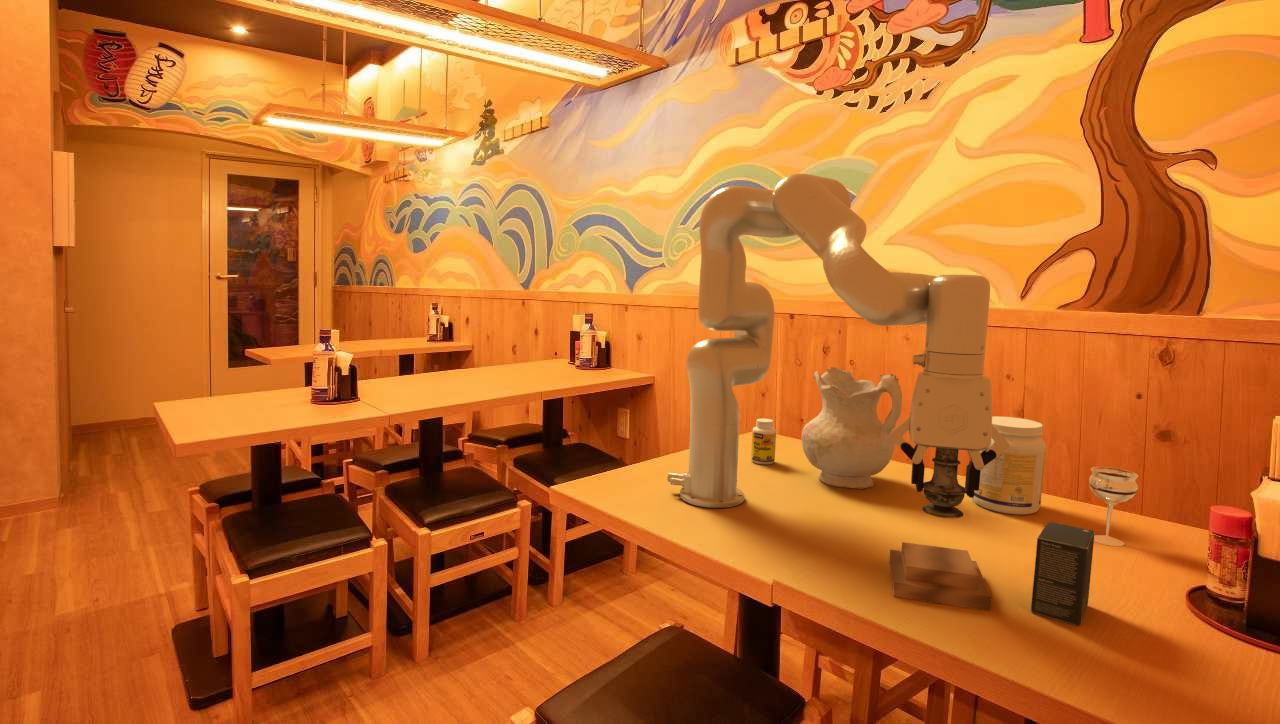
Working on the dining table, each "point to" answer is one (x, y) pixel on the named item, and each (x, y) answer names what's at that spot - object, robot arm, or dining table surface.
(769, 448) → the supplement bottle
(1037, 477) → the supplement tub
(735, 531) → the dining table surface
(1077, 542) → the box
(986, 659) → the dining table surface
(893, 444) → the ceramic pitcher
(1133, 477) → the wineglass
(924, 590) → the plinth
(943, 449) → the salt shaker
